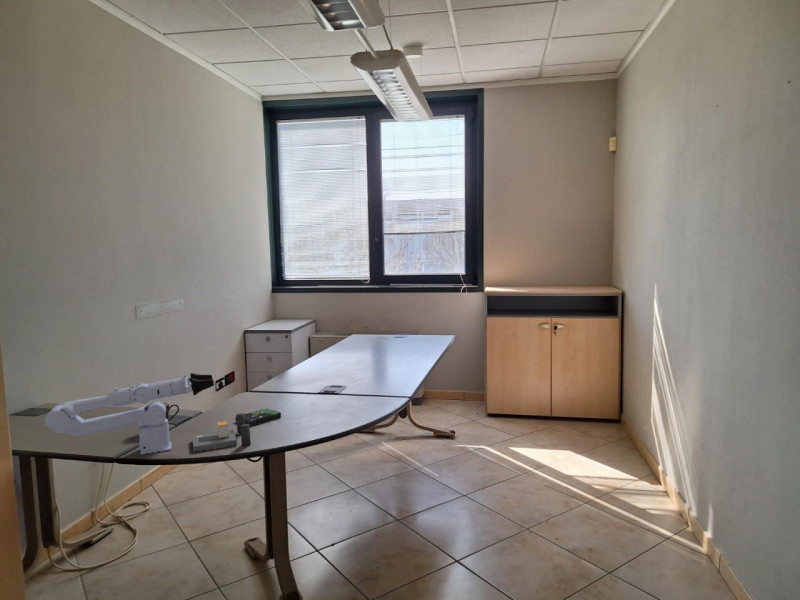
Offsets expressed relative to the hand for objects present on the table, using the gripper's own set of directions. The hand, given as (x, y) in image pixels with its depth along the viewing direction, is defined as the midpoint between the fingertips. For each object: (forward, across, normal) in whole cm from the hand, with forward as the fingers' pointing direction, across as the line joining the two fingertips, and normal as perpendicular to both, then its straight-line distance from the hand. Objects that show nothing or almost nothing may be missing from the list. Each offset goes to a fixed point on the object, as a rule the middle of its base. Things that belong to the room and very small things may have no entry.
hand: (213, 380), depth 191 cm
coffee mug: (-20, +21, +21) cm, 35 cm away
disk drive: (+15, +16, +24) cm, 32 cm away
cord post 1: (+7, +3, +22) cm, 24 cm away
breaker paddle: (0, -4, +19) cm, 20 cm away
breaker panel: (-3, -4, +22) cm, 22 cm away
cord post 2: (+7, -11, +22) cm, 26 cm away
